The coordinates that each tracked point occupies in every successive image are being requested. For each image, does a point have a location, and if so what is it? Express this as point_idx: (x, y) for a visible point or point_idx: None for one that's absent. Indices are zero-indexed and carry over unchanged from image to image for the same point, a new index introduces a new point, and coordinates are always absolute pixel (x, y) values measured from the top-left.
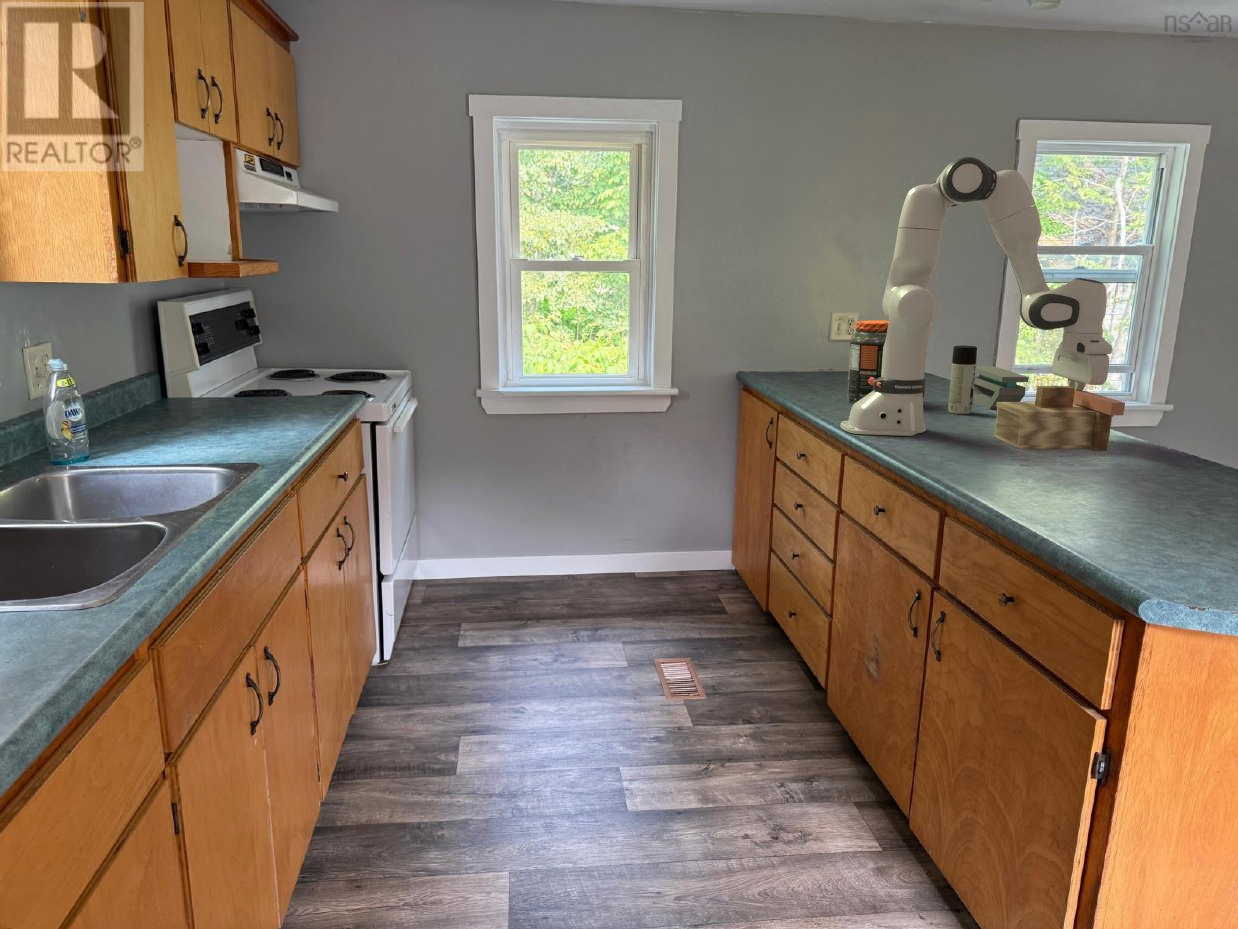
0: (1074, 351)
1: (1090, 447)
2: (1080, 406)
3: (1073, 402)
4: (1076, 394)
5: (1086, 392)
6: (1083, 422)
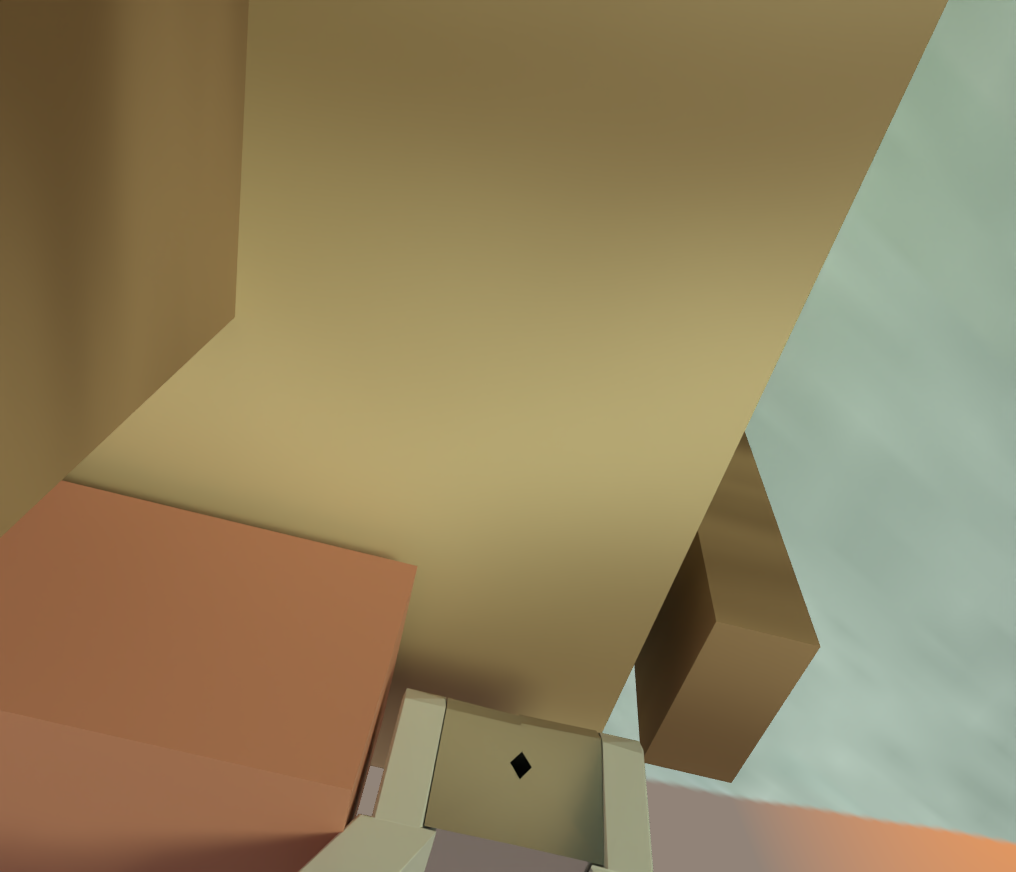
0: None
1: None
2: (115, 490)
3: (330, 551)
4: (171, 680)
5: (34, 833)
6: None
